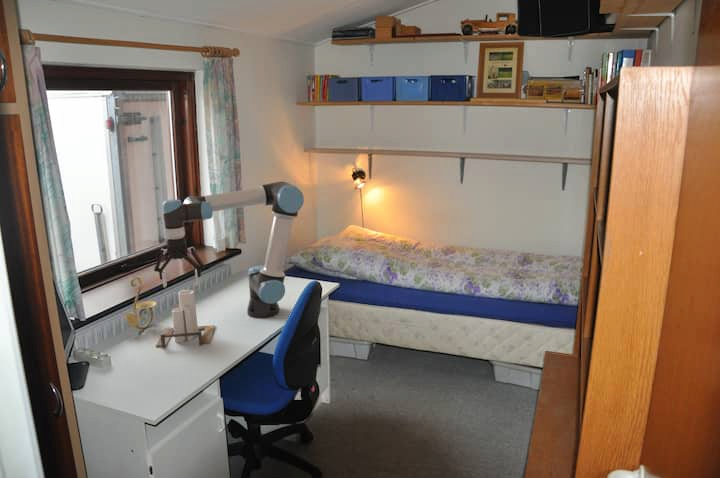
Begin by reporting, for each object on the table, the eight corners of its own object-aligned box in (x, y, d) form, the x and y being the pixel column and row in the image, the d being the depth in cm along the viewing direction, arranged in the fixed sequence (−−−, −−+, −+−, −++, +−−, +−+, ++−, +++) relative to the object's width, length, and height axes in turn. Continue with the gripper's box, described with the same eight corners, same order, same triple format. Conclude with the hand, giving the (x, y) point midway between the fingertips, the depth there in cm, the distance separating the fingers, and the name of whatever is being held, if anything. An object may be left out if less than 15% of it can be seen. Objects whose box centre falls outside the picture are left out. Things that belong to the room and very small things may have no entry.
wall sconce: (142, 335, 248) (135, 282, 242) (125, 333, 251) (117, 279, 245) (163, 323, 261) (157, 272, 254) (146, 321, 264) (140, 270, 257)
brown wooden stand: (215, 326, 256) (214, 314, 254) (209, 345, 237) (207, 332, 236) (165, 330, 254) (163, 317, 252) (155, 348, 235) (153, 335, 233)
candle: (188, 331, 251) (183, 289, 246) (202, 333, 249) (198, 290, 244) (172, 341, 241) (167, 298, 236) (187, 343, 239) (182, 299, 234)
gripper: (207, 233, 239) (212, 280, 244) (147, 236, 236) (153, 284, 241) (205, 237, 231) (210, 286, 237) (142, 241, 229) (149, 290, 234)
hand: (181, 285), depth 239 cm, fingers open, 13 cm apart
